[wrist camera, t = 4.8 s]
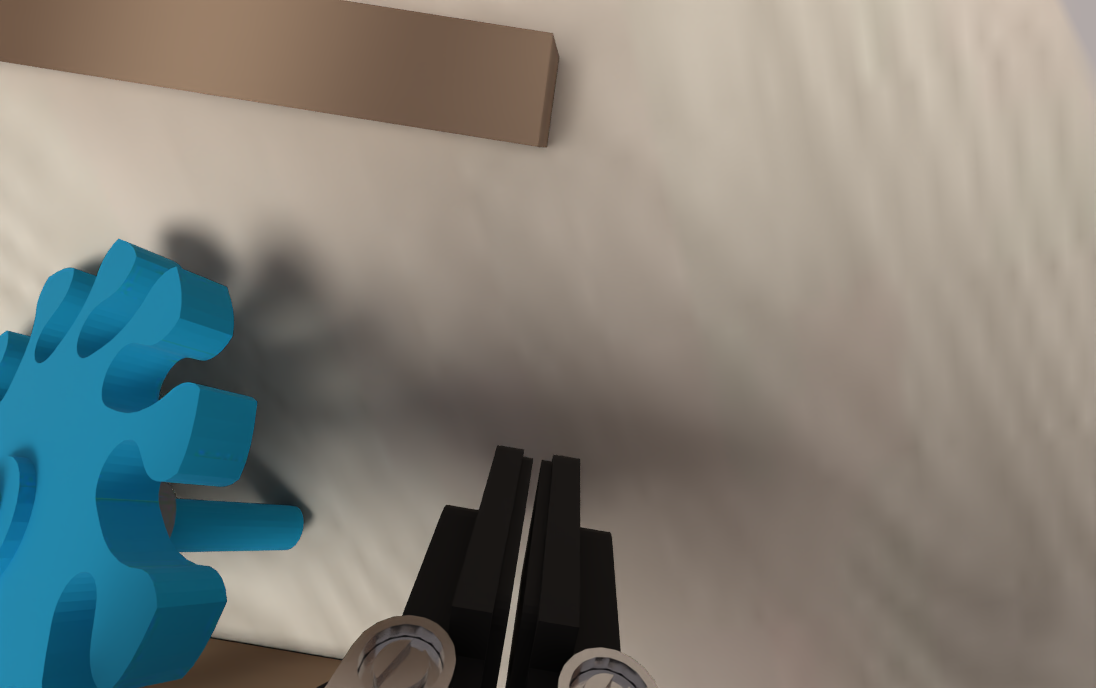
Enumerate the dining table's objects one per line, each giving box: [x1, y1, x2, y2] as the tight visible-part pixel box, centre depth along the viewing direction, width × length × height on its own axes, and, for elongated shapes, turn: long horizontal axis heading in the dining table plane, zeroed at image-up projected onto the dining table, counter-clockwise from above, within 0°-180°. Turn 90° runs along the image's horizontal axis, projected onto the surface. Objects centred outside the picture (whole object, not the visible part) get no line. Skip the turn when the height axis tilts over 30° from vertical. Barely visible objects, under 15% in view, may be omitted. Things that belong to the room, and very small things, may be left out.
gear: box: [0, 239, 304, 688], centre depth 11 cm, size 11×6×10 cm
